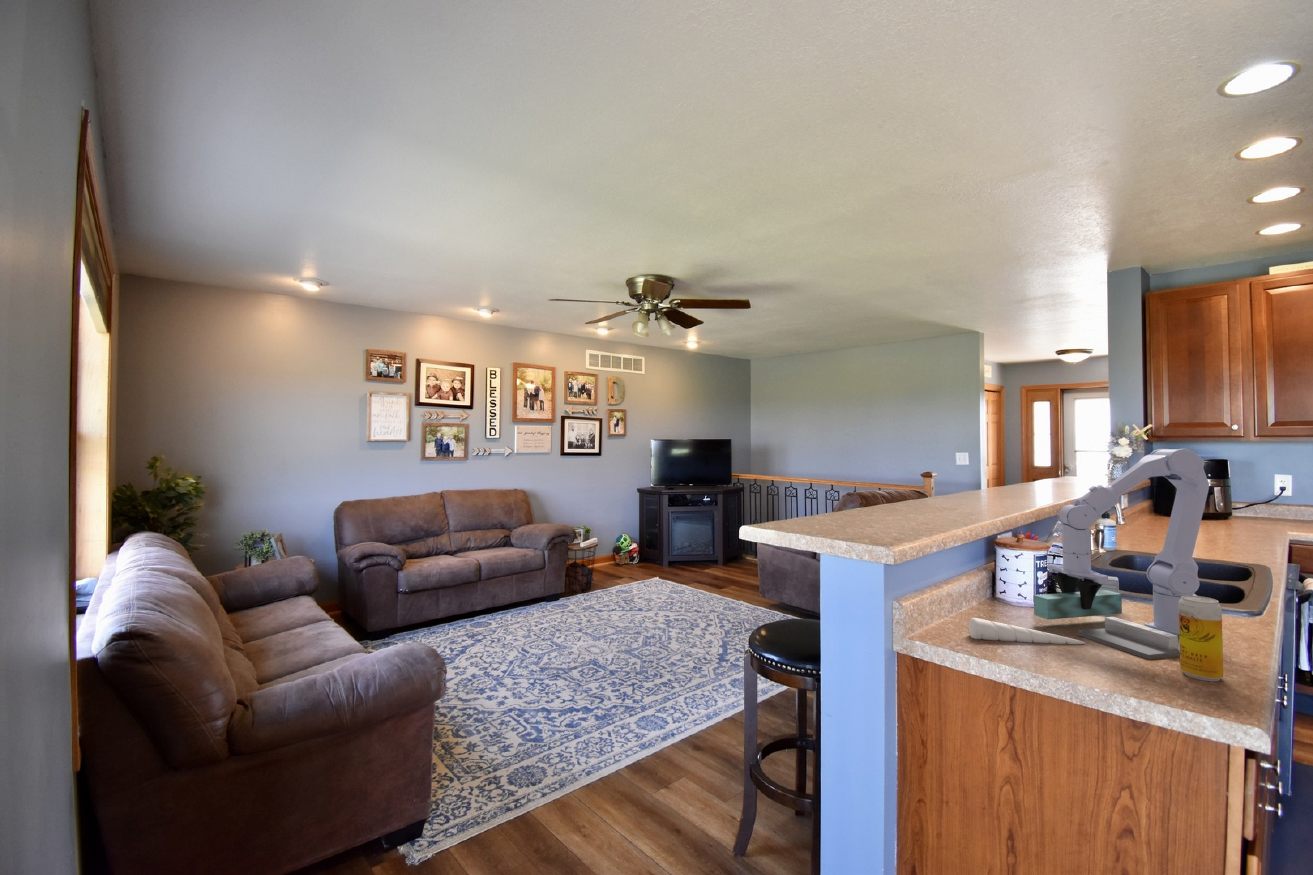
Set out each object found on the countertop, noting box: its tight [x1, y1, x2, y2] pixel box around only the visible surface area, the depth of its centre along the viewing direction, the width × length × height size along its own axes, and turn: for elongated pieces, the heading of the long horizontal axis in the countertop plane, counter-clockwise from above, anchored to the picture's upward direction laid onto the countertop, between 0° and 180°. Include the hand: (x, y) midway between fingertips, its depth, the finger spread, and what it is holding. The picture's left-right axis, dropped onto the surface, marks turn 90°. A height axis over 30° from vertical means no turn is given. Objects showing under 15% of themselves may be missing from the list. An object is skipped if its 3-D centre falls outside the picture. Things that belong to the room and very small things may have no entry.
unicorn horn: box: [968, 617, 1086, 645], centre depth 130 cm, size 5×24×5 cm, turn 73°
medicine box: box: [1081, 575, 1120, 593], centre depth 157 cm, size 8×4×9 cm, turn 52°
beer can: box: [1178, 595, 1224, 682], centre depth 110 cm, size 6×6×15 cm
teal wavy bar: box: [1033, 590, 1123, 621], centre depth 143 cm, size 22×4×5 cm, turn 101°
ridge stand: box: [1077, 616, 1180, 660], centre depth 128 cm, size 16×16×4 cm
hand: (1077, 606), depth 143 cm, fingers closed on teal wavy bar, 4 cm apart
